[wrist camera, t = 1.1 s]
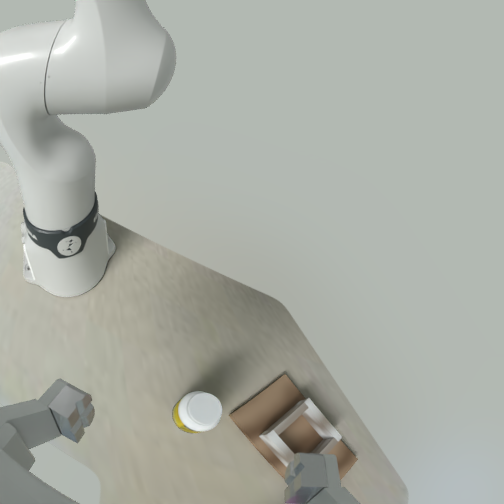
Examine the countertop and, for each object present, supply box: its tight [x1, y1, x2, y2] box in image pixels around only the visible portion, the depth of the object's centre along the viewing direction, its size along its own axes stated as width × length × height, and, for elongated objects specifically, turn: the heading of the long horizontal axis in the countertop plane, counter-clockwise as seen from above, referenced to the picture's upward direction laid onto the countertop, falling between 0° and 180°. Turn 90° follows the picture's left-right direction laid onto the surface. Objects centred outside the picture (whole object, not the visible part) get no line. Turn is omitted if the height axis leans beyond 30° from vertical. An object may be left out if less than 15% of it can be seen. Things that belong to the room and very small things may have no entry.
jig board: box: [229, 374, 358, 480], centre depth 35 cm, size 22×12×4 cm, turn 39°
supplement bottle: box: [172, 391, 222, 433], centre depth 31 cm, size 5×5×10 cm
